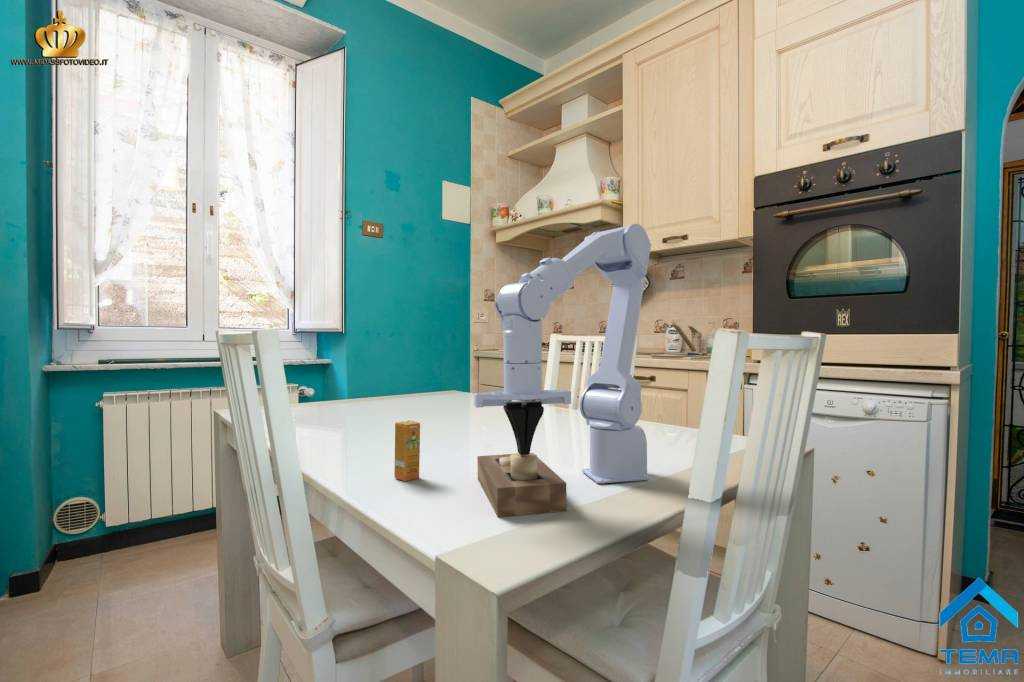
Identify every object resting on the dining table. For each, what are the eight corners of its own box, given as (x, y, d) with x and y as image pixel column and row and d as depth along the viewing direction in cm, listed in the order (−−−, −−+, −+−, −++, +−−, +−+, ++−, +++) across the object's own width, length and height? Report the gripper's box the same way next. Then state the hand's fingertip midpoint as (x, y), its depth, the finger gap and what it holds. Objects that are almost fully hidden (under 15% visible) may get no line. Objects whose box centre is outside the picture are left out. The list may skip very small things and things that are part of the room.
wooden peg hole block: (532, 474, 90) (532, 452, 90) (566, 510, 71) (566, 482, 71) (477, 478, 88) (477, 456, 88) (497, 517, 69) (497, 488, 69)
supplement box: (406, 482, 86) (405, 424, 86) (393, 478, 89) (393, 422, 88) (421, 477, 89) (420, 421, 89) (409, 474, 91) (408, 419, 91)
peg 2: (533, 477, 78) (533, 452, 77) (540, 484, 74) (540, 458, 74) (508, 479, 77) (508, 453, 77) (513, 486, 73) (513, 460, 73)
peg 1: (520, 478, 86) (520, 455, 86) (526, 484, 82) (525, 461, 82) (497, 479, 85) (497, 456, 85) (502, 486, 82) (501, 462, 82)
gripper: (478, 365, 69) (479, 462, 70) (577, 363, 73) (578, 456, 73) (471, 362, 76) (472, 451, 77) (562, 360, 79) (563, 446, 80)
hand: (523, 453), depth 75 cm, fingers closed
